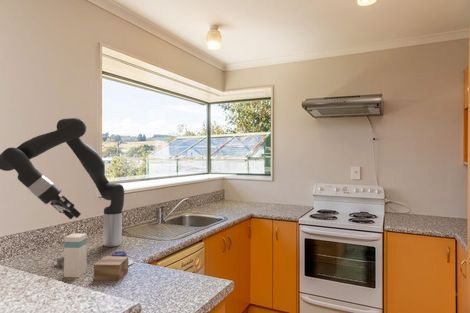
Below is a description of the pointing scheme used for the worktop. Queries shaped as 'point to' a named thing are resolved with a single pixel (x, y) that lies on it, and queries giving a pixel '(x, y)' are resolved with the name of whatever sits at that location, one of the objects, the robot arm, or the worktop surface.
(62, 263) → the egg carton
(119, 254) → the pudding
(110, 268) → the brown square block
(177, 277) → the worktop surface
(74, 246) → the milk carton
